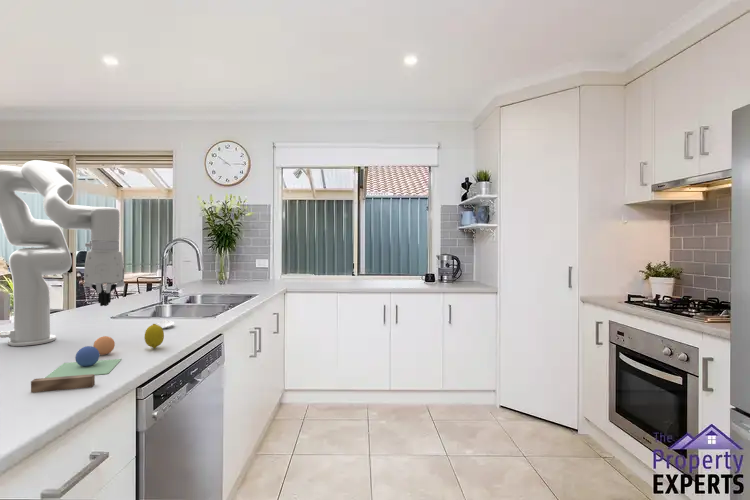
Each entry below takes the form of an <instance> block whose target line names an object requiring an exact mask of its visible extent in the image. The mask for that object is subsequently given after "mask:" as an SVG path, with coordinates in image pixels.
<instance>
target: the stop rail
mask: <svg viewBox="0 0 750 500" xmlns="http://www.w3.org/2000/svg"><path fill="white" fill-rule="evenodd" d="M95 377H96V375H95V374H89V375H77V376H64V377H51V378H45V377H42V378H40V377H39V378H33V380H31V381H30V393H41V392H51V391H62V390H63V391H64V390H75V389H76V390H77V389H86V388H93V387H94V386H95V384H96V383H95V379H96V378H95Z"/></svg>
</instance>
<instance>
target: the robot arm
mask: <svg viewBox="0 0 750 500" xmlns="http://www.w3.org/2000/svg"><path fill="white" fill-rule="evenodd" d="M74 183H75V174H74V172H73V170H72V169H71V168H70V167H69V166H67V165H65V164H63V163H59V162H57V163H56V162H52V161H51V162H50V161H46V160H39V159H38V160H37V159H34V160H30V161H27V162H25V163H23V164H22V166H13V165H0V226H1V227H2V230H3V233H4V236H5V238H6V240H7V242H8V243H9V244H10V245H11V246H12V247H13V246H14V247H23V248H20V249H16V250H15V251H13V252H12V253H11V254H10V255H9V259H8V265H9V270H10V274H11V279H12V288H13V289H12V290H13V291H12V292H13V294H12V295H13V329H12V330H3V331H0V338H3V339H5V338H9V339H8V340H7V345H8V346H11V347H25V346H26V347H27V346H35V345H41V344H47V343H51V342H53V341H55V340H56V339H57V336H56V335H55V334H51V302H50V301H51V300H50V299H51V291H50V286H49V284H48V282H47V281H46V280H45V278H44V276H55V275H62V274H65V273H68V271H70V269H71V267H72V264H73V263H72V262H73V260H72V255H71V252H70V249H69V247H68V244H67V240H66V238H65V235H64V233H63V230H62V229H65V230H83V231H90V241H89V242H85V246H84V247H86V248H89V250H87V252H86V256H85V260H84V261H85V262H84V270H83V282H84V284H83V285H84V287H86V288H87V287H88V288H91V289H93V290H94V291H96V293H97V294H98V295H97V296H98V297H97V298H98V301H97V302H98V304H99V306H100V307H103V306H104V307H106V306H108V305H109V304H110V303H111V302H112V301H111V299H112V298H111V297H112V295H111V294H112V292H113V291H114V290H115V289H116V288H120V287H123V286H125V281H124V279H125V266H124V265H125V264H124V258H123V257H124V256H123V252H122V251H120V220H121V218H120V216H121V213H120V210H119V209H118V208H116V207H112V206H110V207H109V206H91V205H90V206H88V205H78V204H69V203H67V202H68V201H69V200H70V199H71V198H72V197H73V195H74V192H75V191H74V190H75V189H74V186H73V185H74ZM16 193H24V194H34V195H35V194H36V195H41V196H42V197H43V201H42V205H43V211H44V213H45V215H46V216H47V217H48V218H49V219H39V218H38V219H37V218H35V217H33V215H32V213H31V210H30V207H29V206H28V204H27V203H26V201H24V199H22V197H21V196H19V195H17V194H16ZM104 284H106V288H105V290H104Z"/></svg>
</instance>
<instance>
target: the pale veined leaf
mask: <svg viewBox="0 0 750 500" xmlns="http://www.w3.org/2000/svg"><path fill="white" fill-rule="evenodd" d="M155 324H156V325H159V326H160V327H161V328H162V329H163V330H165V329H169V328H171V327H173V326H174V325H175V322H174V321H172V320H169V321H168V320H167V319H166V318H163V320H162V321H159V322H158V323H155Z"/></svg>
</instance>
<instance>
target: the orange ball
mask: <svg viewBox="0 0 750 500" xmlns="http://www.w3.org/2000/svg"><path fill="white" fill-rule="evenodd" d="M115 346H116V343H115V341H114V339H113V338H112V337H110V336H105V335H103V336H99V337H98V338H97V339H96V340H95V341H94V343H93V346H92V347H95V348H96V349H97V350H98V351H99V355H101V356H102V355H103V356H104V355H109V354H110V353H111V352H113V351H114V349H115Z"/></svg>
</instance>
